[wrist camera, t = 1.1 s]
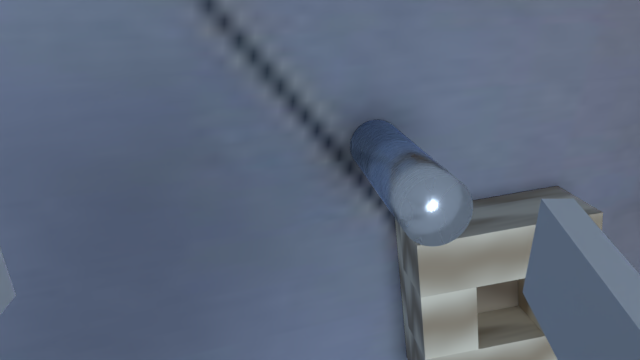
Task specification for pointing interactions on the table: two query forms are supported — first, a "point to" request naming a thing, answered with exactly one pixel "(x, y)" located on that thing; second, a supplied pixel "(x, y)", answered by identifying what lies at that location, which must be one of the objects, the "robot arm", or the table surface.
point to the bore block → (477, 284)
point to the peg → (412, 184)
